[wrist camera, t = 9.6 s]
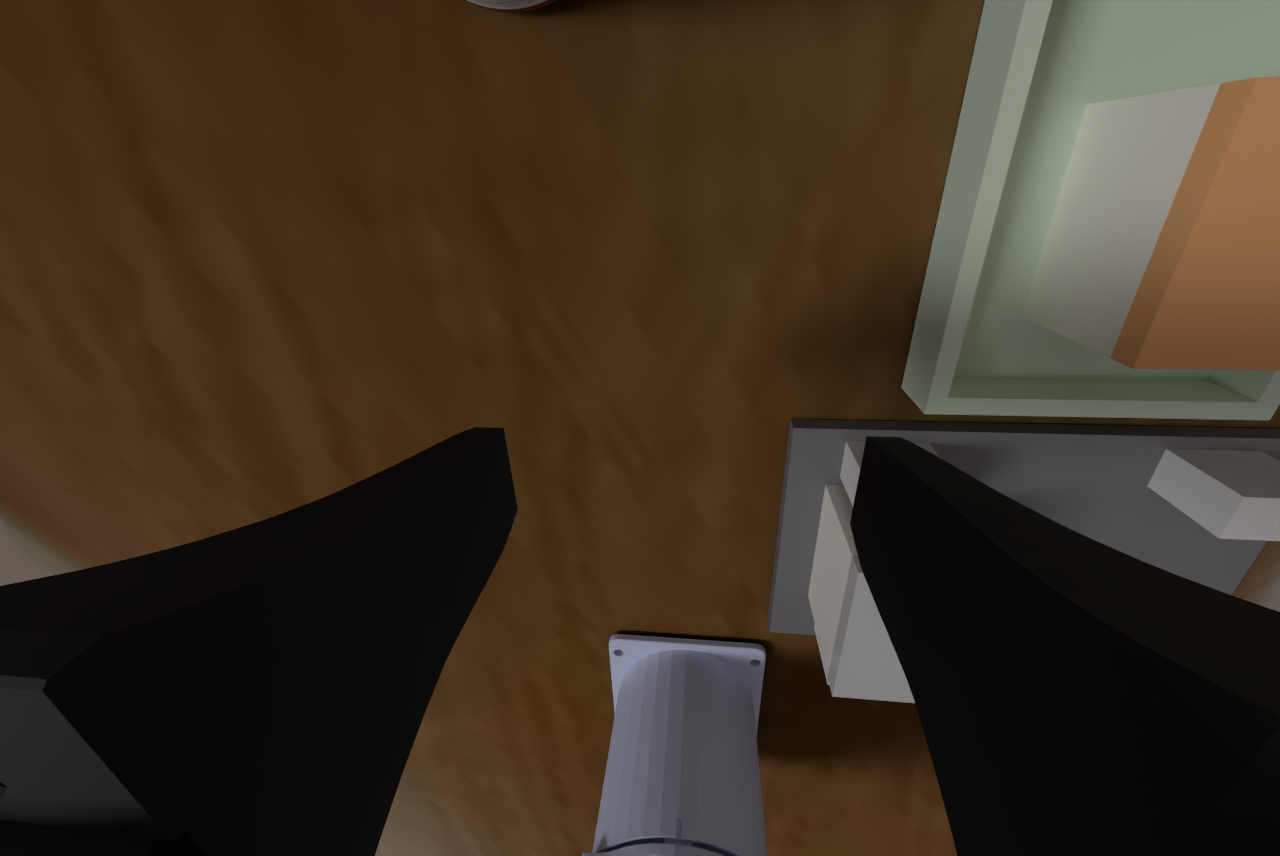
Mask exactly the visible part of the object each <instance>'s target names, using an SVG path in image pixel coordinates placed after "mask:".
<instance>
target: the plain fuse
mask: <svg viewBox="0 0 1280 856" xmlns="http://www.w3.org/2000/svg"><path fill="white" fill-rule="evenodd" d="M852 510H853V506H852V503H851V501H850V499H849V496H848V494H847V492H846V489H845V487H844V485H825V491H824V498H823V504H822V510H821V517H820V523H819V529H818V536H817V542H816V548H815V555H814V561H813V567H812V573H811V580H810V586H809V592H808V597H809V601H810V606H811V610H812V614H813V618H814V622H815V627H816V631H817V635H818V639H819V643H820V648H821V652H822V656H823V660H824V664H825V669H826V673H827V677H828V681H829V685H830V690H831V694H832V697H843V698H856V699H869V700H881V701H894V702H906V703H915V701H914V698H913V695H912V693H911V690H910V687H909V684H908V682H907V679H906V676H905V674H904V671H903V669H902V666H901V664H900V662H899V659H898V657H897V654H896V652H895V650H894V647H893V645H892V642H891V640H890V638H889V635H888V633H887V630H886V628H885V626H884V623H883V621H882V618H881V616H880V614H879V611H878V609H877V606H876V604H875V601H874V599H873V597H872V594H871V592H870V589H869V587H868V584H867V582H866V579H865V577H864V574H863V572H862V569H861V566H860V562H859V558H858V555H857V551H856V547H855V543H854V539H853V534H852V530H851V526H850V520H851V515H852Z"/></svg>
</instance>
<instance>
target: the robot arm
mask: <svg viewBox="0 0 1280 856" xmlns="http://www.w3.org/2000/svg"><path fill="white" fill-rule="evenodd" d="M516 512H517V503H516V497H515V491H514V486H513V480H512V474H511V468H510V463H509V457H508V451H507V445H506V440H505V434H504V428H484V427H475V428H472V429H469V430H466V431H464V432H461V433H459V434H457V435H455V436H452V437H450V438H448V439H446V440H444V441H442V442H440V443H438V444H436V445H434V446H432V447H430V448H428V449H426V450H424V451H422V452H420V453H418V454H416V455H414V456H412V457H410V458H408V459H406V460H404V461H402V462H400V463H398V464H396V465H394V466H392V467H390V468H388V469H386V470H384V471H381V472H379V473H377V474H375V475H373V476H371V477H368V478H366V479H364V480H362V481H360V482H358V483H355V484H353V485H351V486H349V487H347V488H345V489H343V490H340V491H338V492H336V493H333V494H331V495H329V496H326V497H324V498H321V499H319V500H316V501H314V502H311V503H309V504H306V505H304V506H301V507H298V508H296V509H293V510H290V511H288V512H285V513H282V514H280V515H277V516H274V517H271V518H268V519H266V520H262V521H259V522H256V523H253V524H250V525H247V526H243V527H240V528H237V529H234V530H231V531H228V532H224V533H221V534H218V535H215V536H212V537H208V538H205V539H202V540H199V541H195V542H192V543H188V544H185V545H181V546H177V547H173V548H170V549H166V550H162V551H158V552H155V553H151V554H147V555H143V556H139V557H135V558H130V559H126V560H122V561H118V562H114V563H110V564H106V565H101V566H97V567H92V568H88V569H83V570H79V571H74V572H69V573H64V574H59V575H54V576H49V577H44V578H39V579H34V580H29V581H24V582H19V583H14V584H9V585H4V586H0V856H375V853H376V850H377V847H378V843H379V840H380V837H381V834H382V831H383V829H384V826H385V823H386V820H387V817H388V814H389V811H390V808H391V805H392V802H393V799H394V796H395V793H396V790H397V788H398V785H399V782H400V779H401V776H402V773H403V770H404V767H405V765H406V762H407V759H408V757H409V754H410V751H411V749H412V746H413V743H414V740H415V738H416V735H417V732H418V730H419V727H420V724H421V722H422V719H423V716H424V714H425V711H426V709H427V706H428V704H429V701H430V699H431V696H432V694H433V691H434V689H435V686H436V684H437V681H438V679H439V676H440V674H441V671H442V669H443V666H444V664H445V662H446V660H447V658H448V656H449V653H450V651H451V649H452V647H453V645H454V643H455V641H456V639H457V637H458V635H459V633H460V632H461V630H462V628H463V626H464V624H465V622H466V620H467V618H468V616H469V615H470V613H471V611H472V609H473V607H474V605H475V603H476V601H477V600H478V598H479V596H480V594H481V592H482V590H483V588H484V586H485V584H486V583H487V581H488V579H489V577H490V575H491V573H492V571H493V569H494V567H495V565H496V563H497V561H498V559H499V557H500V555H501V553H502V551H503V549H504V547H505V544H506V541H507V539H508V536H509V533H510V531H511V528H512V524H513V521H514V518H515V515H516ZM850 526H851V530H852V534H853V539H854V543H855V547H856V551H857V555H858V558H859V562H860V566H861V569H862V572H863V574H864V577H865V579H866V582H867V584H868V587H869V589H870V592H871V594H872V597H873V599H874V601H875V604H876V606H877V609H878V611H879V614H880V616H881V618H882V621H883V623H884V626H885V628H886V630H887V633H888V635H889V638H890V640H891V642H892V645H893V647H894V650H895V652H896V654H897V657H898V659H899V662H900V664H901V666H902V669H903V671H904V674H905V676H906V679H907V682H908V684H909V687H910V690H911V693H912V695H913V698H914V701H915V704H916V708H917V711H918V714H919V718H920V721H921V724H922V728H923V731H924V734H925V738H926V741H927V745H928V748H929V751H930V755H931V758H932V761H933V765H934V769H935V772H936V776H937V780H938V783H939V787H940V791H941V794H942V798H943V802H944V805H945V809H946V813H947V816H948V820H949V824H950V827H951V831H952V835H953V839H954V843H955V847H956V851H957V855H958V856H1280V612H1278V611H1275V610H1272V609H1268V608H1266V607H1263V606H1260V605H1257V604H1254V603H1251V602H1248V601H1245V600H1243V599H1240V598H1237V597H1234V596H1232V595H1229V594H1226V593H1224V592H1221V591H1218V590H1216V589H1213V588H1210V587H1208V586H1205V585H1202V584H1200V583H1197V582H1194V581H1192V580H1189V579H1186V578H1184V577H1181V576H1178V575H1176V574H1173V573H1171V572H1168V571H1166V570H1163V569H1161V568H1158V567H1156V566H1153V565H1151V564H1148V563H1146V562H1143V561H1141V560H1139V559H1136V558H1134V557H1132V556H1129V555H1127V554H1125V553H1123V552H1120V551H1118V550H1116V549H1113V548H1111V547H1109V546H1107V545H1104V544H1102V543H1100V542H1098V541H1095V540H1093V539H1091V538H1089V537H1086V536H1084V535H1082V534H1080V533H1078V532H1076V531H1074V530H1071V529H1069V528H1067V527H1065V526H1063V525H1061V524H1059V523H1057V522H1055V521H1053V520H1051V519H1049V518H1047V517H1045V516H1043V515H1041V514H1039V513H1038V512H1036V511H1034V510H1032V509H1030V508H1028V507H1026V506H1024V505H1022V504H1020V503H1018V502H1016V501H1015V500H1013V499H1011V498H1009V497H1007V496H1005V495H1004V494H1002V493H1000V492H998V491H996V490H995V489H993V488H991V487H989V486H988V485H986V484H984V483H982V482H981V481H979V480H977V479H975V478H974V477H972V476H970V475H968V474H967V473H965V472H963V471H962V470H960V469H958V468H956V467H955V466H953V465H951V464H950V463H948V462H946V461H944V460H943V459H941V458H939V457H938V456H936V455H934V454H932V453H931V452H929V451H927V450H925V449H923V448H922V447H920V446H918V445H916V444H914V443H912V442H910V441H908V440H906V439H903V438H901V437H872V436H867V437H866V442H865V447H864V452H863V457H862V463H861V468H860V473H859V478H858V483H857V489H856V494H855V499H854V504H853V510H852V515H851V520H850ZM609 654H610V665H611V677H612V688H613V700H614V711H615V718H614V724H613V730H612V736H611V742H610V748H609V754H608V760H607V767H606V773H605V779H604V785H603V791H602V797H601V803H600V809H599V816H598V822H597V828H596V834H595V840H594V846H593V852H584V853H583V855H582V856H767V848H766V837H765V826H764V815H763V804H762V793H761V782H760V770H759V759H758V748H757V728H758V720H759V711H760V703H761V694H762V685H763V677H764V668H765V659H766V653H765V648H764V647H763V646H762V645H760V644H756V643H741V642H727V641H712V640H698V639H684V638H669V637H655V636H640V635H626V634H615V635H612V636H611V637H610V641H609ZM755 659H756V660H755Z"/></svg>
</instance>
